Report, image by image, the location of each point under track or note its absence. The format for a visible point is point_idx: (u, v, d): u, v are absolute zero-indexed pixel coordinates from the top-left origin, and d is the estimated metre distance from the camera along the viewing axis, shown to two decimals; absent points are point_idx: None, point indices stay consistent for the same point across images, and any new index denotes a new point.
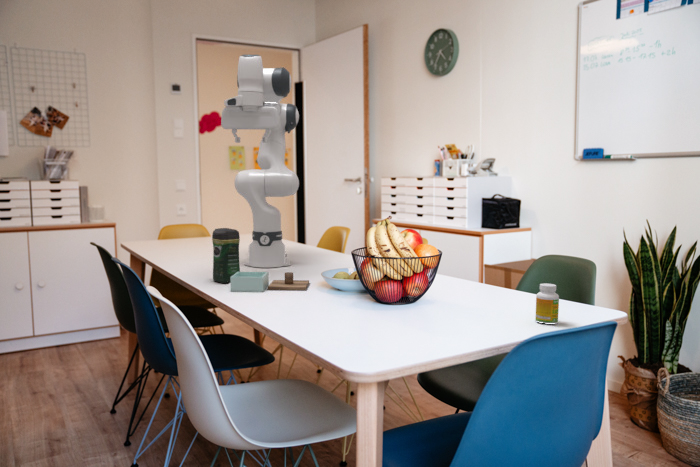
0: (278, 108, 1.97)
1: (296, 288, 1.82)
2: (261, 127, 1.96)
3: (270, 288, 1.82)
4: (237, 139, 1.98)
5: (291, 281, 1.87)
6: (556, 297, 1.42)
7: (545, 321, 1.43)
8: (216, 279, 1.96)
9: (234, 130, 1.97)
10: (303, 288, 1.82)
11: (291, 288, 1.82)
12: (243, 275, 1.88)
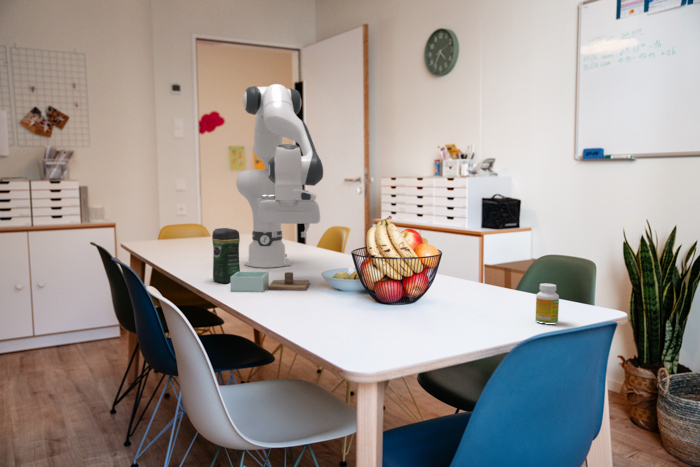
0: None
1: (296, 288, 1.82)
2: None
3: (270, 288, 1.82)
4: None
5: (291, 281, 1.87)
6: (556, 297, 1.42)
7: (545, 321, 1.43)
8: (216, 279, 1.96)
9: None
10: (303, 288, 1.82)
11: (291, 288, 1.82)
12: (243, 275, 1.88)
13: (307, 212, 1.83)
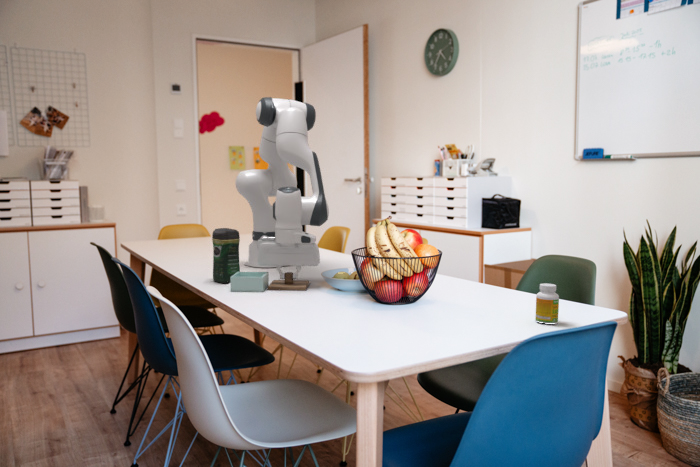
0: None
1: (296, 288, 1.82)
2: None
3: (270, 288, 1.82)
4: None
5: (291, 281, 1.87)
6: (556, 297, 1.42)
7: (545, 321, 1.43)
8: (216, 279, 1.96)
9: None
10: (303, 288, 1.82)
11: (291, 288, 1.82)
12: (243, 275, 1.88)
13: (307, 254, 1.85)
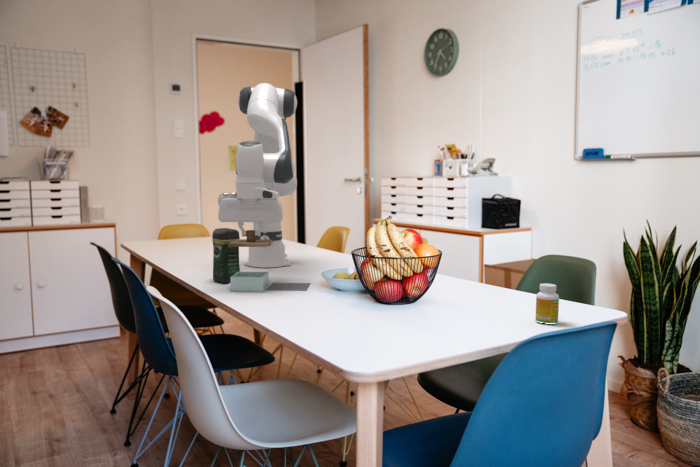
0: None
1: (257, 244, 1.77)
2: None
3: (231, 245, 1.77)
4: None
5: (253, 239, 1.82)
6: (556, 297, 1.42)
7: (545, 321, 1.43)
8: (216, 279, 1.96)
9: None
10: (265, 244, 1.77)
11: (252, 244, 1.77)
12: (243, 275, 1.88)
13: (269, 210, 1.80)
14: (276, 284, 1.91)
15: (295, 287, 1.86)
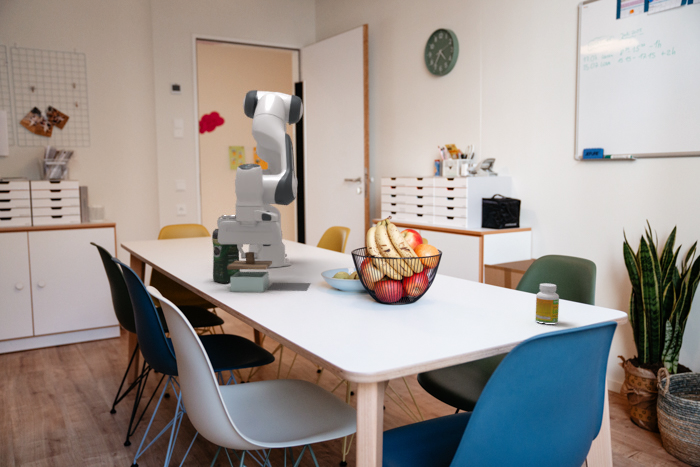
0: None
1: (256, 267, 1.77)
2: None
3: (230, 267, 1.77)
4: None
5: (252, 261, 1.82)
6: (556, 297, 1.42)
7: (545, 321, 1.43)
8: (216, 279, 1.96)
9: None
10: (264, 267, 1.77)
11: (251, 267, 1.77)
12: (243, 275, 1.88)
13: (268, 233, 1.80)
14: (276, 284, 1.91)
15: (295, 287, 1.86)
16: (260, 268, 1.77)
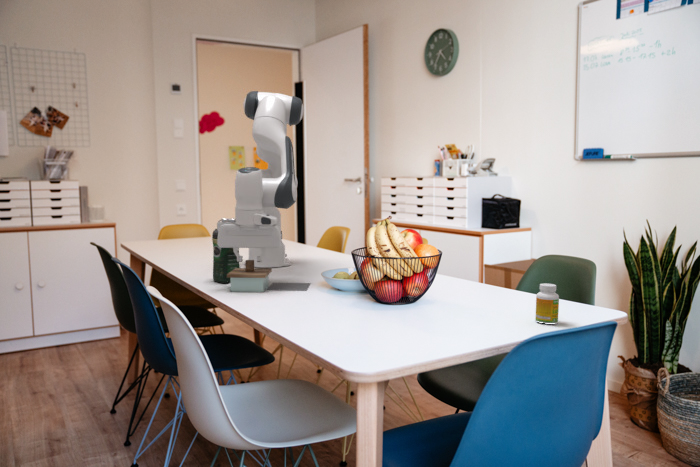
0: None
1: (256, 275, 1.78)
2: None
3: (229, 275, 1.78)
4: None
5: (252, 269, 1.83)
6: (556, 297, 1.42)
7: (545, 321, 1.43)
8: (216, 279, 1.96)
9: None
10: (263, 275, 1.78)
11: (251, 275, 1.78)
12: None
13: (268, 236, 1.81)
14: (276, 284, 1.91)
15: (295, 287, 1.86)
16: (259, 276, 1.78)
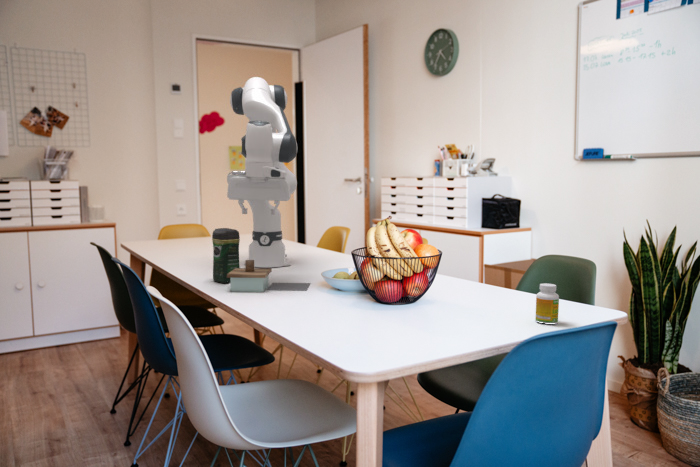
0: None
1: (256, 275, 1.78)
2: None
3: (229, 275, 1.78)
4: None
5: (252, 269, 1.83)
6: (556, 297, 1.42)
7: (545, 321, 1.43)
8: (216, 279, 1.96)
9: None
10: (263, 275, 1.78)
11: (251, 275, 1.78)
12: None
13: (277, 189, 1.83)
14: (276, 284, 1.91)
15: (295, 287, 1.86)
16: (259, 276, 1.78)
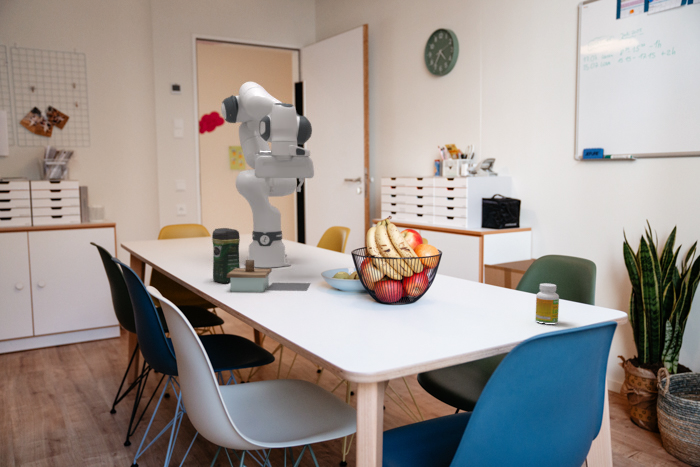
0: None
1: (256, 275, 1.78)
2: None
3: (229, 275, 1.78)
4: None
5: (252, 269, 1.83)
6: (556, 297, 1.42)
7: (545, 321, 1.43)
8: (216, 279, 1.96)
9: None
10: (263, 275, 1.78)
11: (251, 275, 1.78)
12: None
13: (302, 167, 1.94)
14: (276, 284, 1.91)
15: (295, 287, 1.86)
16: (259, 276, 1.78)
